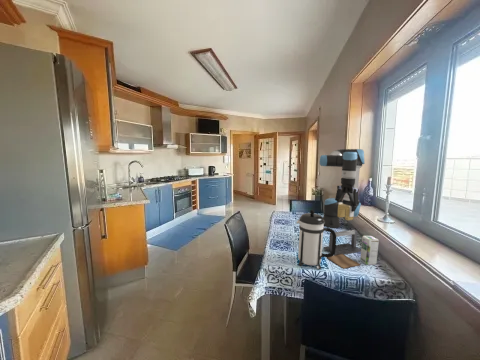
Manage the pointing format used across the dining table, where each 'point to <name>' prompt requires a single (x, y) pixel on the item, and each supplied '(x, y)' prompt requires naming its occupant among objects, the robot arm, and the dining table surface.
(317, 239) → the coffee press
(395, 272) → the dining table surface
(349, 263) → the coaster
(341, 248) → the stand
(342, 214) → the c link
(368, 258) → the syrup box
